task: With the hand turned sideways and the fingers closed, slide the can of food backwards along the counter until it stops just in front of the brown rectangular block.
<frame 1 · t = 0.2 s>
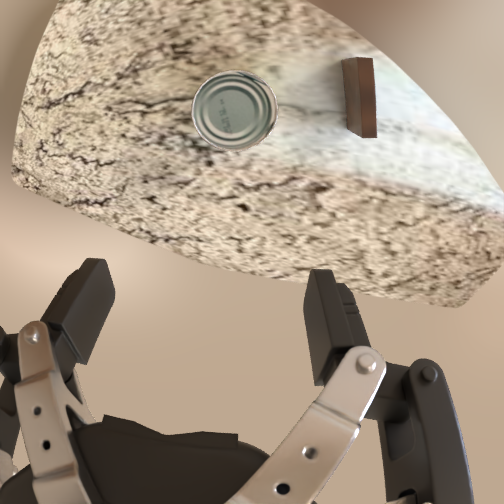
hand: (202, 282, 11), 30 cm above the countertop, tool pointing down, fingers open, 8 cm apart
canned food: (239, 102, 34), on the countertop
brown rectangular block: (351, 94, 32), on the countertop
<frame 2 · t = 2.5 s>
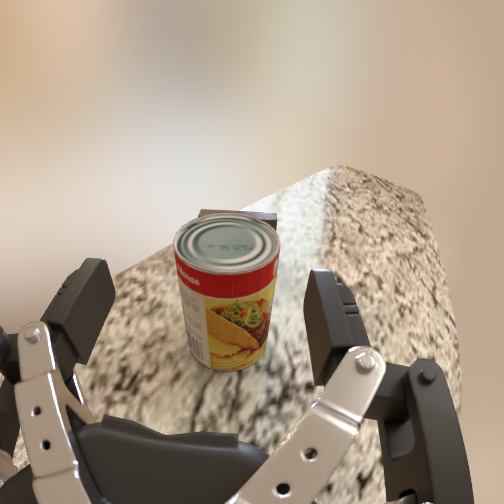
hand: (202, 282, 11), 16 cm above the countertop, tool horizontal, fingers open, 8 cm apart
canned food: (227, 340, 28), on the countertop
brown rectangular block: (236, 252, 40), on the countertop
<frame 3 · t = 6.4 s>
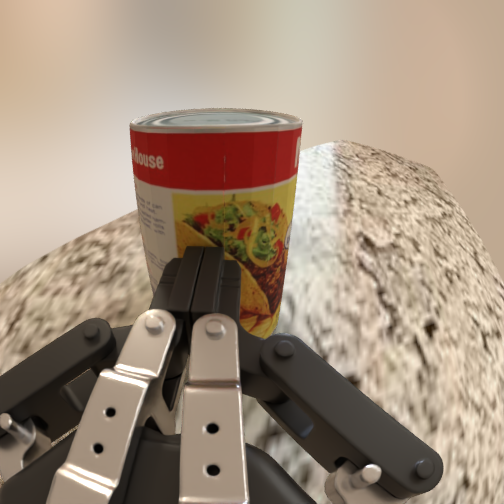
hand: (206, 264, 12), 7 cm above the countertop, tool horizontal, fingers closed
canned food: (218, 312, 19), on the countertop, touching gripper
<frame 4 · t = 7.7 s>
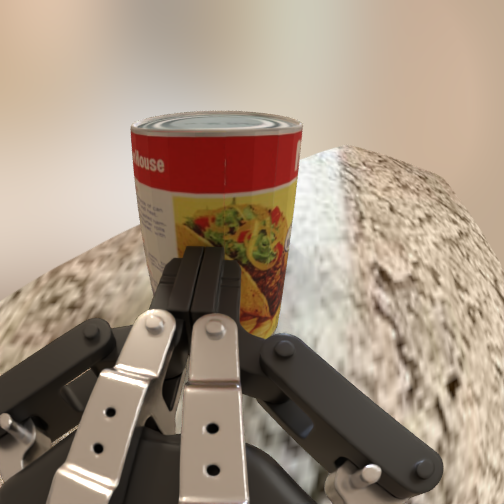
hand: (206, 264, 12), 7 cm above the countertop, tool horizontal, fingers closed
canned food: (218, 314, 19), on the countertop, touching gripper
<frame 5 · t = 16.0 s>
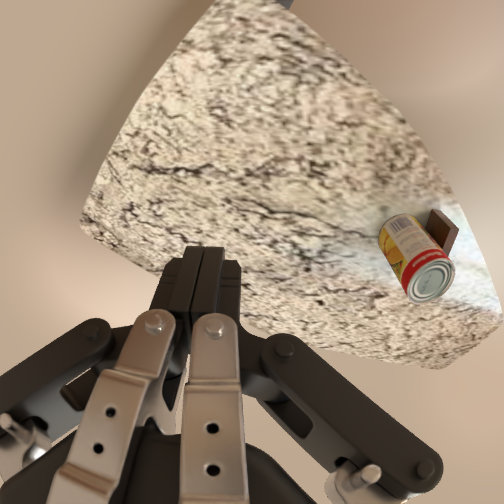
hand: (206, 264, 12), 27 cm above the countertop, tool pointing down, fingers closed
canned food: (399, 234, 42), on the countertop
brown rectangular block: (427, 235, 42), on the countertop
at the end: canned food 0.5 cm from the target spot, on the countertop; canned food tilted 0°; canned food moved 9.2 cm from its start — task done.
